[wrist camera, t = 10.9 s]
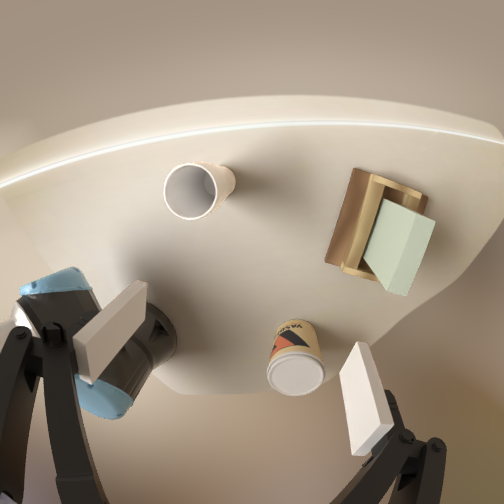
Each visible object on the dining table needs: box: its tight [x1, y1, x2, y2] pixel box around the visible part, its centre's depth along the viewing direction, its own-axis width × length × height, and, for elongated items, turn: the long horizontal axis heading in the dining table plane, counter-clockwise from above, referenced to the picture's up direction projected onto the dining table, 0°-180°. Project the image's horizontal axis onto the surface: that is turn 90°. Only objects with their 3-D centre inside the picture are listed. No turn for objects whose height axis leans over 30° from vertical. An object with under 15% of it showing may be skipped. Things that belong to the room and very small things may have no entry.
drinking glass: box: [164, 162, 235, 220], centre depth 38 cm, size 7×7×15 cm
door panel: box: [362, 198, 436, 297], centre depth 37 cm, size 3×10×14 cm, turn 166°
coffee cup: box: [267, 319, 325, 396], centre depth 47 cm, size 9×9×12 cm
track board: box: [325, 168, 428, 283], centre depth 43 cm, size 14×16×4 cm
